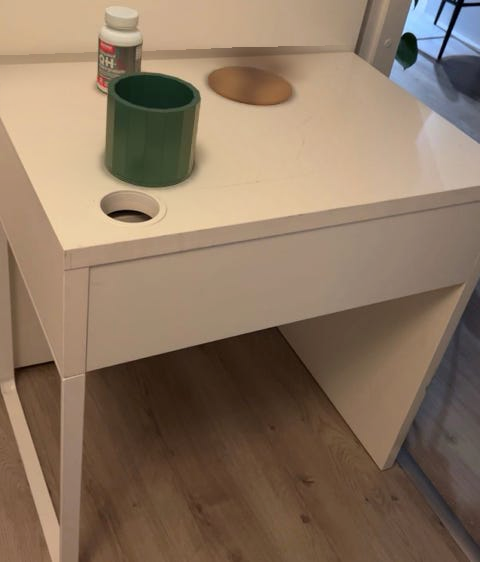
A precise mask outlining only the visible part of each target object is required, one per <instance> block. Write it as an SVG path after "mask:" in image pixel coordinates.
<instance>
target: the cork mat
mask: <svg viewBox="0 0 480 562" xmlns="http://www.w3.org/2000/svg"><path fill="white" fill-rule="evenodd" d="M207 83H208V85H209V88H211V89H212V91H214V92H215V93H217V94H218V95H220V96H222V97H224V98H225V99H229V100H232V101H235V102H238V103H241V104H248V105H254V106H255V105H257V106H271V105H278V104H281V103H284V102H286V101H288V100H289V99H290V98H291V97H292V94H293V88H292V85H290V83H289V82H288V81H287V80H285V79H284V78H283V77H281V76H279V75H277V74H275V73H273V72H270V71H267V70H264V69H260V68H255V67H250V66H240V65H239V66H237V65H236V66H233V65H232V66H223V67H220V68H216V69H215V70H213V71H211V72H210V73H209V74H208V78H207Z"/></svg>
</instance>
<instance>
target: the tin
mask: <svg viewBox="0 0 480 562" xmlns="http://www.w3.org/2000/svg"><path fill="white" fill-rule="evenodd" d="M201 101H202V97H201V92H200V91H199V89H198V88H197V87H196V86H195V85H193V84H192V83H191V82H188V81H186V80H184V79H182V78H179V77H177V76H174V75H170V74H164V73H161V72H150V71H141V72H136V73H126V74H123V75H120V76H117V77H115V78H113V79H112V80H111V81H110V82H109V83H108V84H107V93H106V110H105V111H106V115H105V137H104V139H105V142H104V165H105V167H106V169H107V171H108V172H109V173H110V174H111V175H113V176H114V177H115V178H116V179H119V180H120V181H123V182H125V183H128V184H132V185H135V186H140V187H147V188H162V187H171V186H173V185H177V184H180V183H182V182H183V181H186V179H188V178H189V177H190V175H191V173H192V169H193V167H194V162H195V161H194V160H195V153H196V143H197V137H198V136H197V135H198V129H199V119H200V112H201V104H202V103H201Z"/></svg>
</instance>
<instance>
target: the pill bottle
mask: <svg viewBox="0 0 480 562" xmlns="http://www.w3.org/2000/svg"><path fill="white" fill-rule="evenodd" d="M139 16H140V15H139V12H138V11H137V10H136V9H133V8H131V7H128V6H121V5H112V6H109V7H106V8H105V11H104V22H105V25H102V26H101V28H100V29H99V30H98V41H97V43H98V44H97V70H96V71H97V72H96V73H97V74H96V86H97V87H98V88H99V90H100V91H101V92H104V93H105V94H107V84H108V83H109V82H110V81H111V80H112V79H113V78H115V77H117V76H120V75H123V74H126V73H136V72H142V57H143V44H144V35H143V33H142V31H141V30H140V29H139V28H137V27H138V26H139Z"/></svg>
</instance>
